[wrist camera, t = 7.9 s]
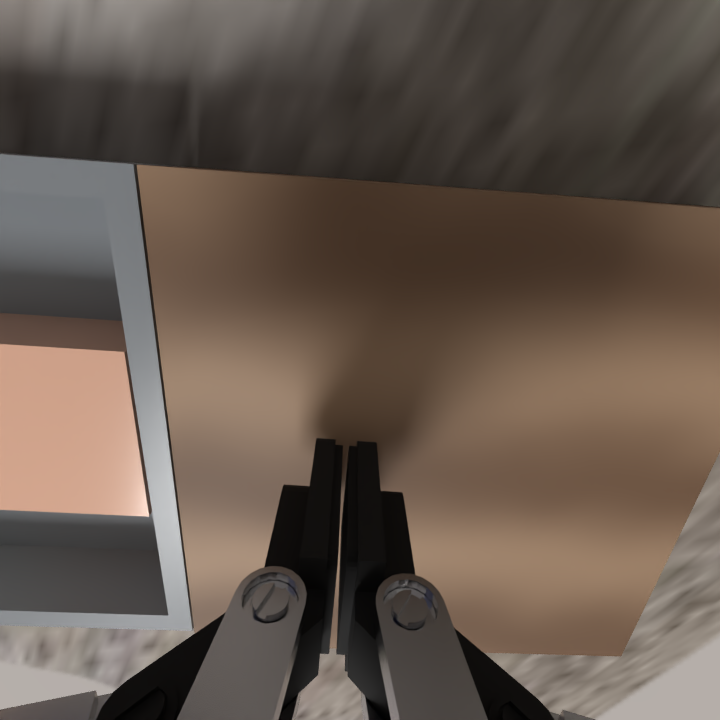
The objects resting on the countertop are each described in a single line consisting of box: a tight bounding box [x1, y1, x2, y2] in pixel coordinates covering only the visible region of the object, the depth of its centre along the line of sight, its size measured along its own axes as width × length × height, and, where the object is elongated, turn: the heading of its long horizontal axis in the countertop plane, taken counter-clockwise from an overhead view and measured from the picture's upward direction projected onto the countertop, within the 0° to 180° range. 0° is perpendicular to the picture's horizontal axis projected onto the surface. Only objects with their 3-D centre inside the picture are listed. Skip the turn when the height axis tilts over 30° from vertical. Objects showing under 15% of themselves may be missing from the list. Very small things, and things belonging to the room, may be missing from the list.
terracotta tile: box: [0, 313, 152, 517], centre depth 14 cm, size 6×6×2 cm
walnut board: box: [137, 165, 720, 656], centre depth 15 cm, size 16×16×4 cm
